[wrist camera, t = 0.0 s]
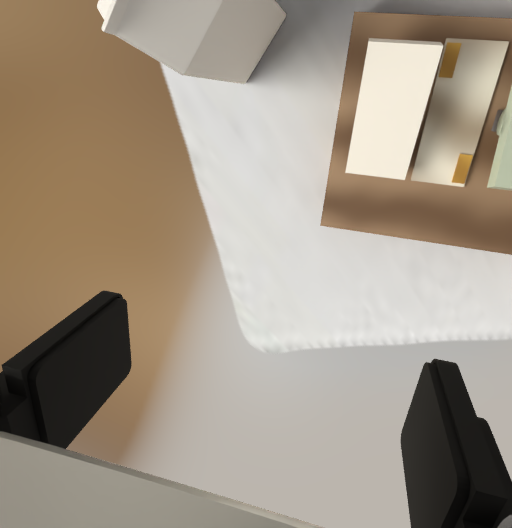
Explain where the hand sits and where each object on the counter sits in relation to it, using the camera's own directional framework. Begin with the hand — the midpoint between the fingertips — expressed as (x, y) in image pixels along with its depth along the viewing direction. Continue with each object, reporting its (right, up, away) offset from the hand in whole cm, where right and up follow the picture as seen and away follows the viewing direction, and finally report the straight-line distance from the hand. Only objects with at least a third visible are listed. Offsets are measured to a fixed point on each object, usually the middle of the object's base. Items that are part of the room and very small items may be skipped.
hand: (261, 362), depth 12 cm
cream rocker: (+10, +15, +19) cm, 26 cm away
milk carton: (-2, +26, +25) cm, 36 cm away
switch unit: (+18, +15, +24) cm, 33 cm away
